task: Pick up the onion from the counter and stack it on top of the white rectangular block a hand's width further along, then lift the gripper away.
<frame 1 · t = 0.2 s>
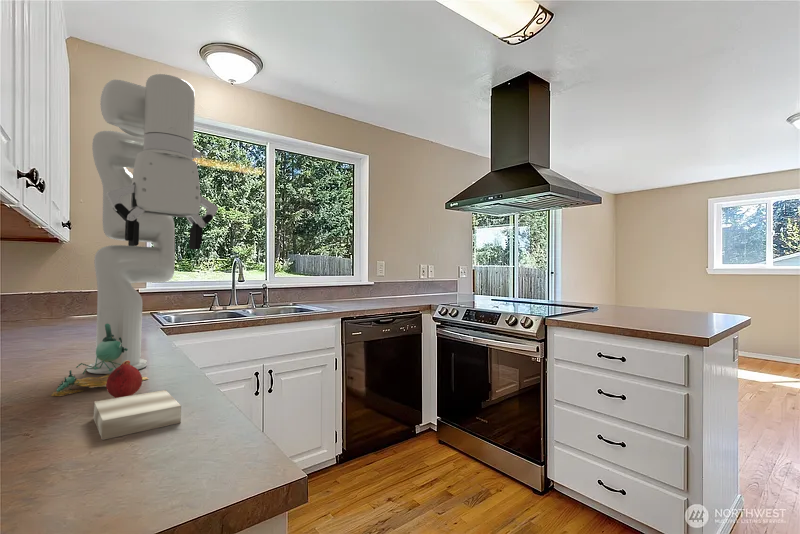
hand: (165, 247, 69), 30 cm above the worktop, fingers open, 9 cm apart
frog figurine: (101, 387, 87), on the worktop
onion: (123, 401, 78), on the worktop
white rectangular block: (136, 420, 69), on the worktop
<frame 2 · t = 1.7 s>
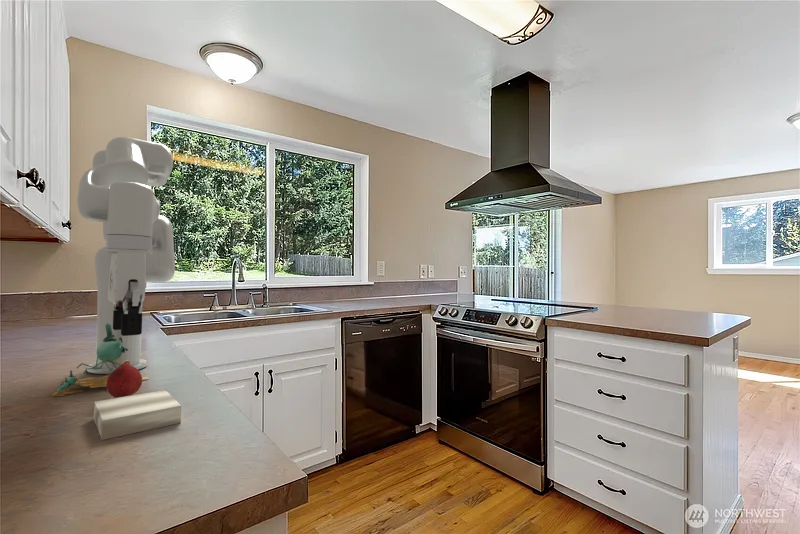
hand: (126, 332, 78), 14 cm above the worktop, fingers open, 9 cm apart
nothing on the worktop moved.
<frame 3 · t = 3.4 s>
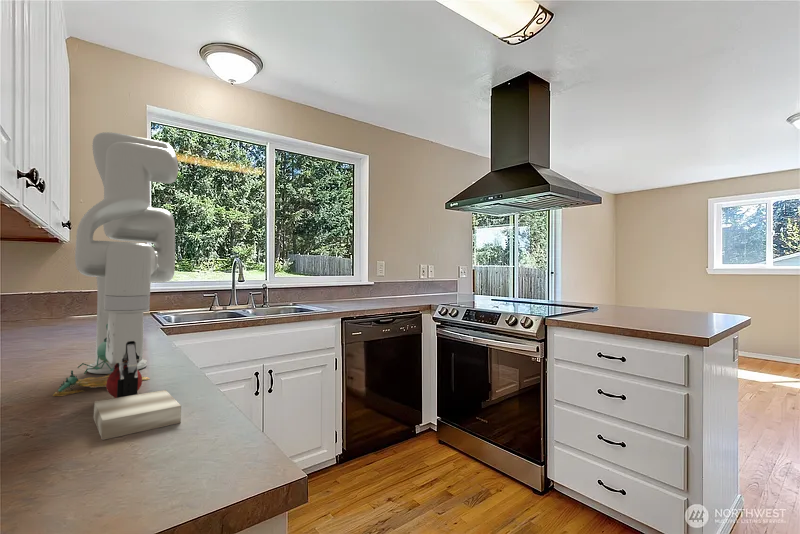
hand: (124, 393, 78), 1 cm above the worktop, fingers closed on onion, 5 cm apart
onion: (123, 401, 78), on the worktop, touching gripper
everything else where it was.
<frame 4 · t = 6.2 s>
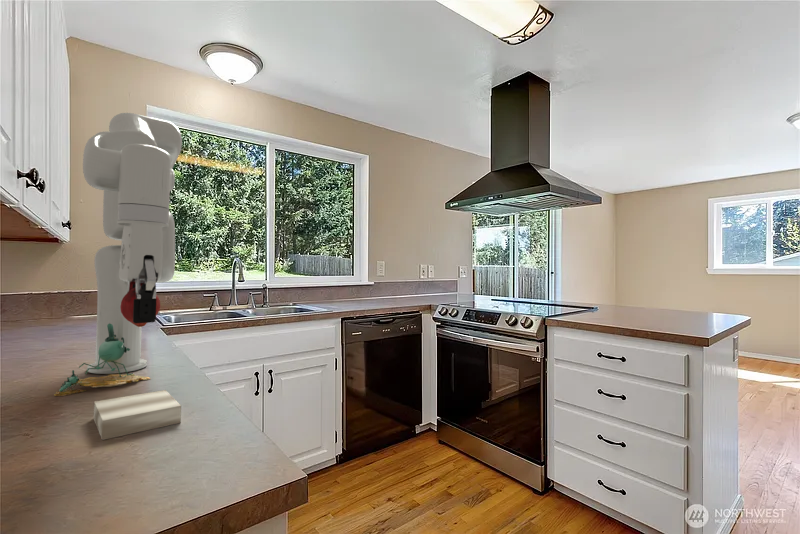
hand: (140, 319, 69), 18 cm above the worktop, fingers closed on onion, 5 cm apart
onion: (139, 328, 69), point 16 cm above the worktop, touching gripper
everything else where it was.
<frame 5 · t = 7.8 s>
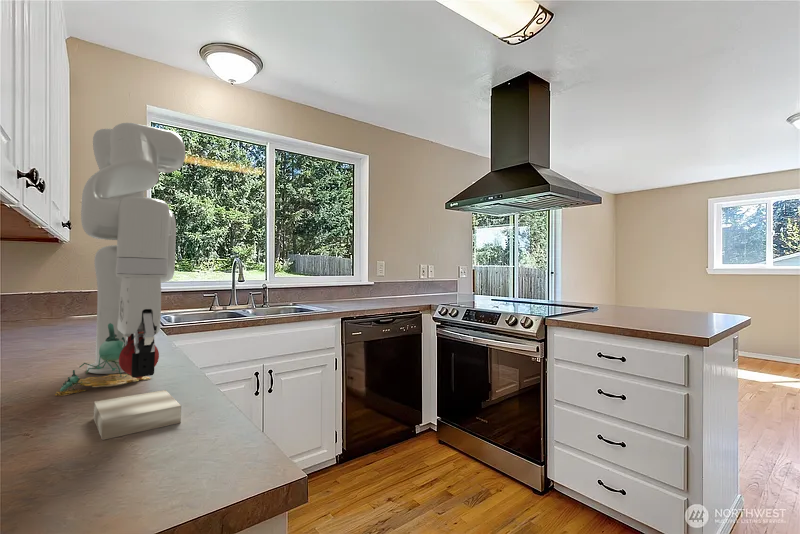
hand: (138, 370, 69), 9 cm above the worktop, fingers closed on onion, 5 cm apart
onion: (138, 379, 69), point 7 cm above the worktop, touching gripper
everything else where it was.
when the fingers open (6 cm above the worktop, at t = 9.3 s): onion drops 1 cm, resting on white rectangular block.
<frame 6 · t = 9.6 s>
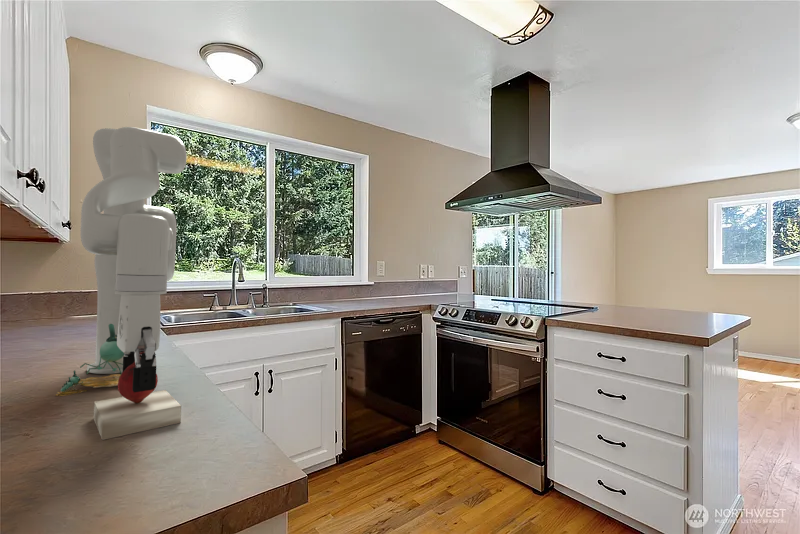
hand: (138, 383, 69), 6 cm above the worktop, fingers open, 9 cm apart
onion: (137, 404, 69), point 3 cm above the worktop, touching white rectangular block
everything else where it was.
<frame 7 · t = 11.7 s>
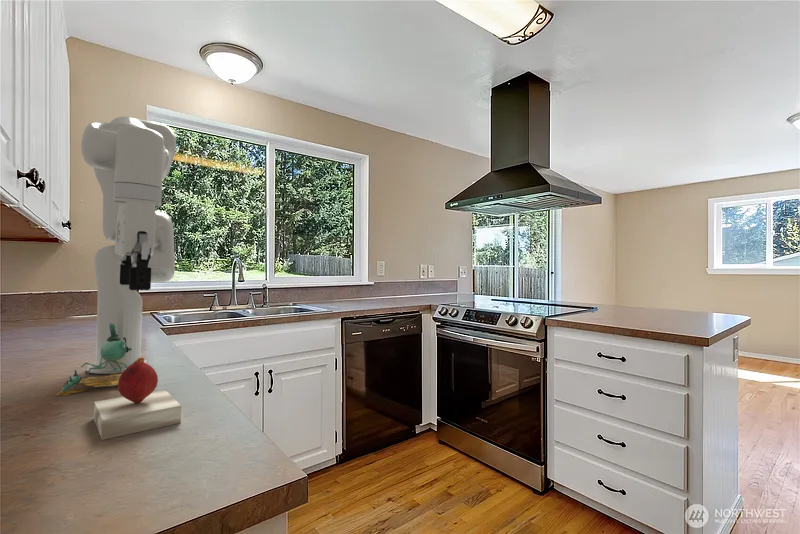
hand: (134, 287, 74), 23 cm above the worktop, fingers open, 9 cm apart
nothing on the worktop moved.
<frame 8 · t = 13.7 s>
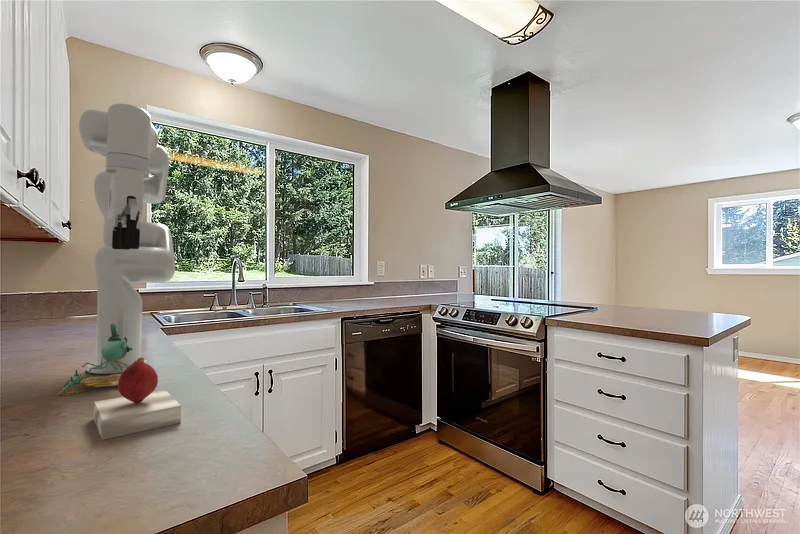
hand: (125, 248, 82), 30 cm above the worktop, fingers open, 9 cm apart
nothing on the worktop moved.
at the end: onion inside the target area on the white rectangular block (0.2 cm from its centre), point 2.8 cm above the white rectangular block's base; the gripper is holding nothing; onion touching white rectangular block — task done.
